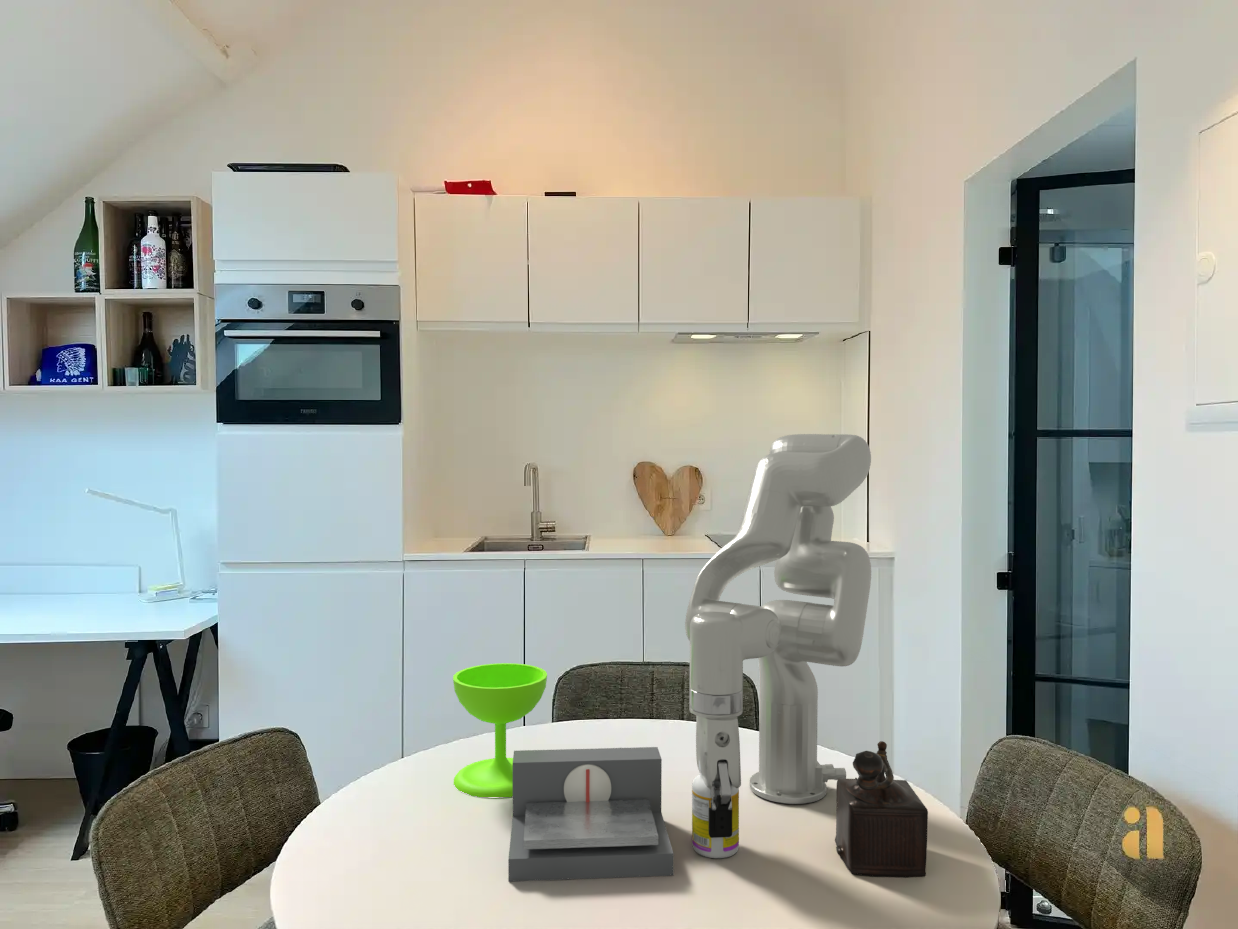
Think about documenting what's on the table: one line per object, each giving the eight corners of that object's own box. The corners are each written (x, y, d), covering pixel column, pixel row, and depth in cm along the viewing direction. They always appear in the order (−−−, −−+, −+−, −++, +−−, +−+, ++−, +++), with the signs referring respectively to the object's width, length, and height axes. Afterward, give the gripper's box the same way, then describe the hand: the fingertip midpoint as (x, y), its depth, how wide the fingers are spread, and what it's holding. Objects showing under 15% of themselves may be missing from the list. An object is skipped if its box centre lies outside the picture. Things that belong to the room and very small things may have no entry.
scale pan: (648, 807, 130) (648, 799, 130) (658, 844, 118) (658, 836, 118) (526, 811, 129) (526, 803, 129) (523, 849, 117) (523, 840, 117)
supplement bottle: (738, 839, 129) (738, 753, 128) (739, 861, 122) (740, 770, 122) (692, 837, 129) (692, 751, 129) (691, 859, 123) (691, 768, 122)
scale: (657, 817, 136) (657, 747, 136) (673, 875, 118) (673, 794, 118) (514, 822, 135) (513, 750, 134) (508, 881, 117) (508, 799, 116)
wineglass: (475, 806, 140) (475, 694, 140) (439, 773, 154) (438, 671, 153) (563, 785, 149) (563, 679, 148) (522, 755, 162) (522, 659, 162)
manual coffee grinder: (829, 840, 129) (830, 718, 128) (906, 842, 128) (907, 719, 128) (854, 896, 113) (855, 757, 113) (941, 897, 113) (943, 759, 112)
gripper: (756, 719, 117) (755, 852, 117) (729, 683, 134) (729, 798, 135) (700, 721, 116) (699, 854, 117) (680, 684, 133) (680, 800, 134)
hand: (715, 823), depth 126 cm, fingers closed on supplement bottle, 6 cm apart
